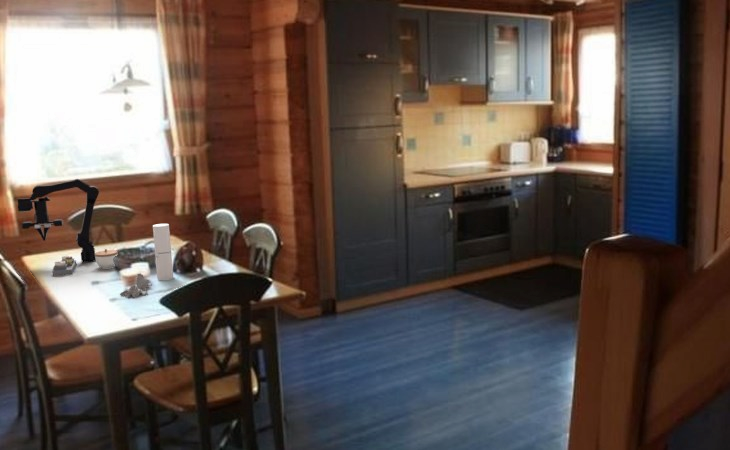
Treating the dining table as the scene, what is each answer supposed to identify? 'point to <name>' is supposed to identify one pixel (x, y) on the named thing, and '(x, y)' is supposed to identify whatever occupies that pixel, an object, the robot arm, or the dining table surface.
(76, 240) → the robot arm
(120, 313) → the dining table surface
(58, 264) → the knob
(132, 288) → the grey lumpy piece
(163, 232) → the cylindrical container
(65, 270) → the mount
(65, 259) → the white round cap
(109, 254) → the lidded jar
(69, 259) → the metal knob
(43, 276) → the dining table surface
